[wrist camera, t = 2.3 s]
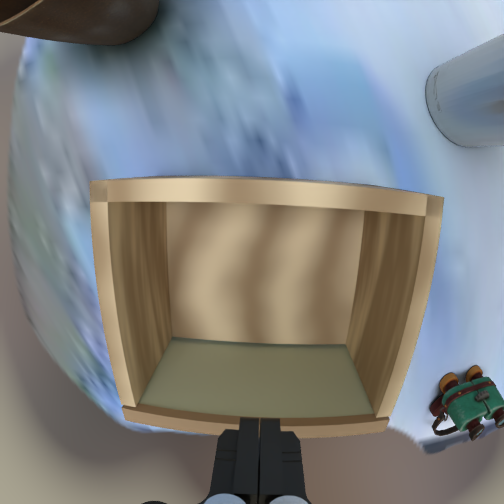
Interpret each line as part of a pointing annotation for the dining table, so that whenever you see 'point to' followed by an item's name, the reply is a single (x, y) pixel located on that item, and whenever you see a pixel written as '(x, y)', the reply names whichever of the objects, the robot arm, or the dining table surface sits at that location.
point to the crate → (263, 270)
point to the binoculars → (468, 403)
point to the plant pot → (78, 19)
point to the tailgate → (256, 389)
